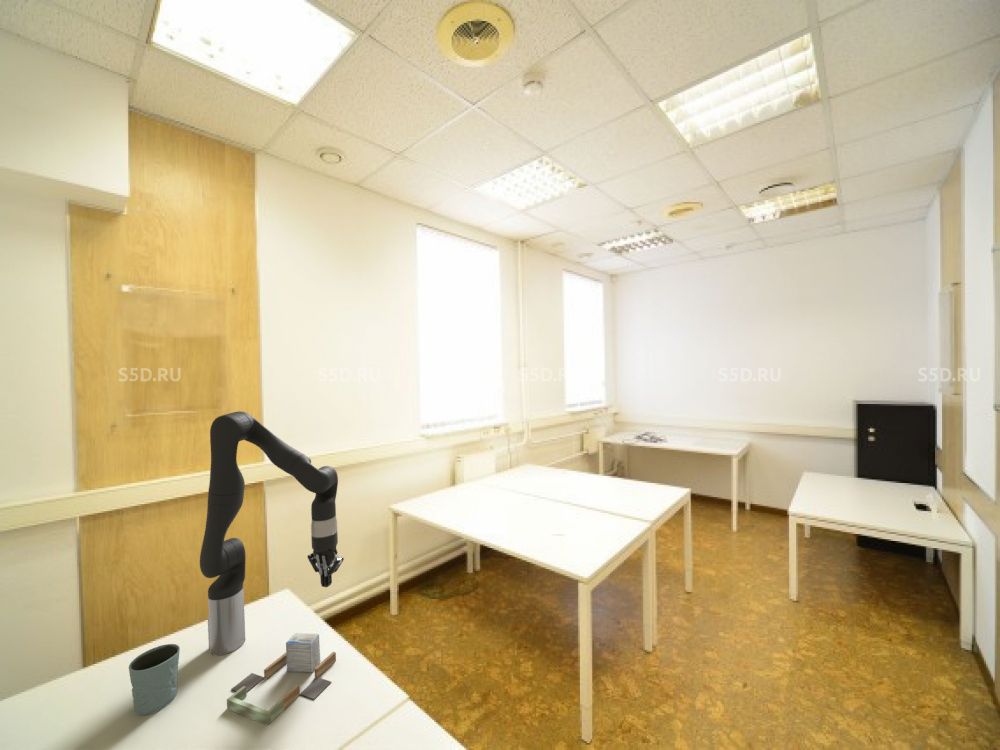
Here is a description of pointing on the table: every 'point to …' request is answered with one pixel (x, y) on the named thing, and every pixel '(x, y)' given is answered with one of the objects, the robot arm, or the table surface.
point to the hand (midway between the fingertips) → (326, 585)
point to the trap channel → (268, 716)
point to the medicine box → (303, 652)
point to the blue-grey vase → (154, 678)
